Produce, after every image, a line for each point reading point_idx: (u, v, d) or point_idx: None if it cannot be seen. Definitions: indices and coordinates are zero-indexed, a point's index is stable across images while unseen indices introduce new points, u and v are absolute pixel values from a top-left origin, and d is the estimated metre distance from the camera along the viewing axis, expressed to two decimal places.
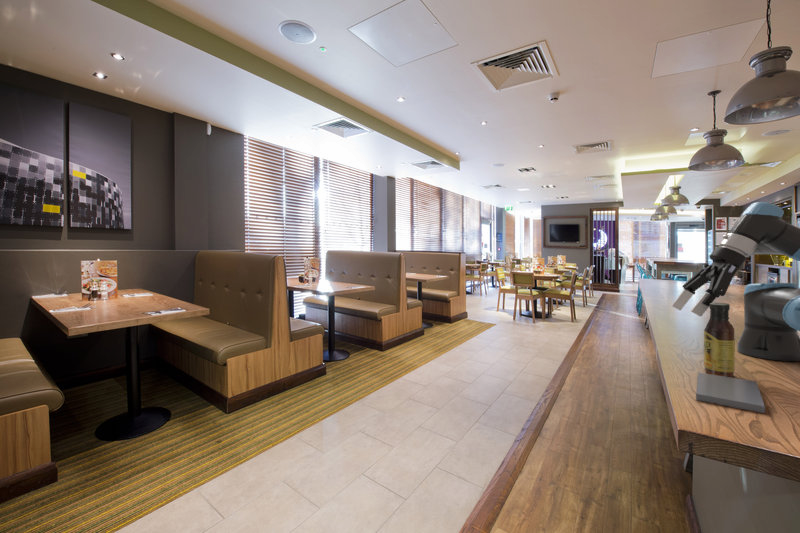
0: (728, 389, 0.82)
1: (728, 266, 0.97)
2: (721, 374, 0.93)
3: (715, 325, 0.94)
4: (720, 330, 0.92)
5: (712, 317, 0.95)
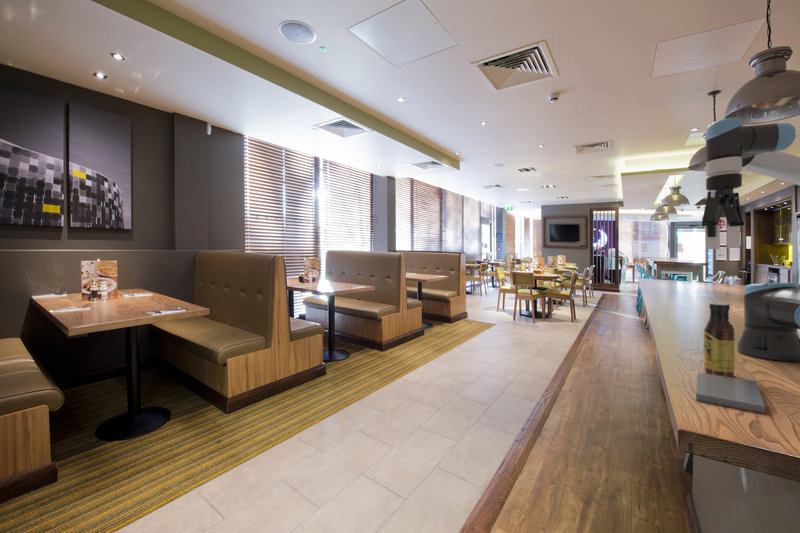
0: (728, 389, 0.82)
1: (708, 194, 0.97)
2: (721, 374, 0.93)
3: (715, 325, 0.94)
4: (720, 330, 0.92)
5: (712, 317, 0.95)
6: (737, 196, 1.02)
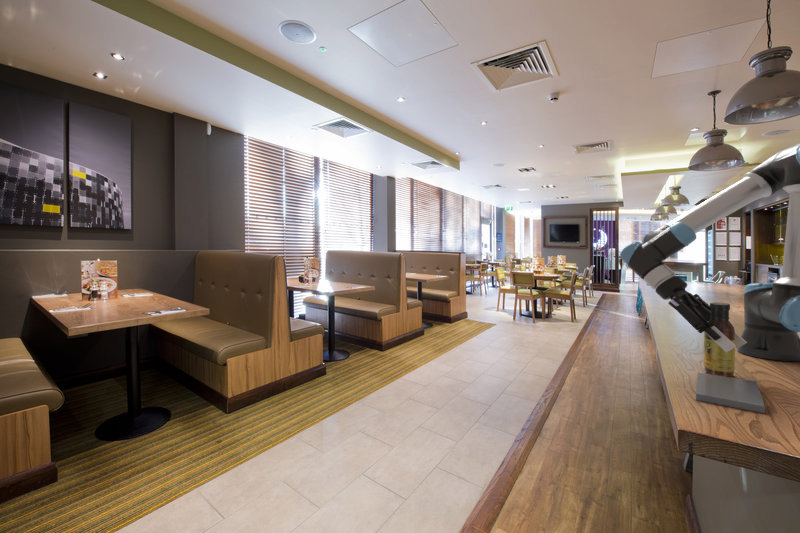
0: (728, 389, 0.82)
1: (671, 305, 0.99)
2: (721, 374, 0.93)
3: (715, 325, 0.94)
4: (720, 330, 0.92)
5: (712, 317, 0.95)
6: (697, 296, 1.03)
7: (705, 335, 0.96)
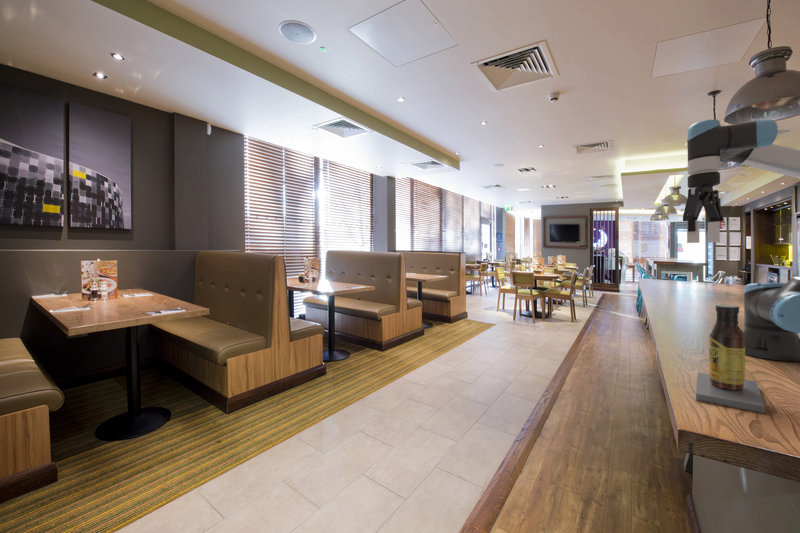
0: None
1: (688, 191, 1.04)
2: (729, 387, 0.81)
3: (722, 331, 0.81)
4: (728, 336, 0.80)
5: (718, 322, 0.82)
6: (717, 193, 1.08)
7: (710, 342, 0.84)
